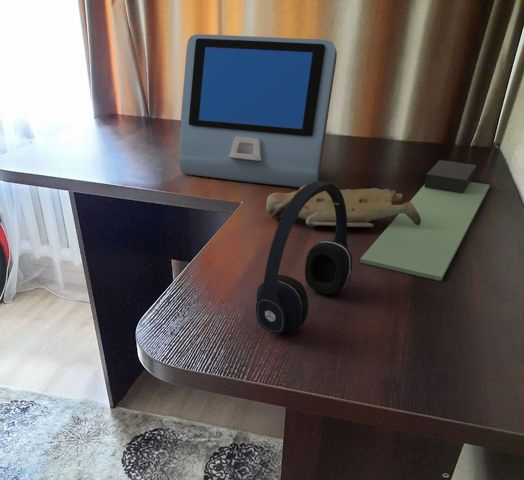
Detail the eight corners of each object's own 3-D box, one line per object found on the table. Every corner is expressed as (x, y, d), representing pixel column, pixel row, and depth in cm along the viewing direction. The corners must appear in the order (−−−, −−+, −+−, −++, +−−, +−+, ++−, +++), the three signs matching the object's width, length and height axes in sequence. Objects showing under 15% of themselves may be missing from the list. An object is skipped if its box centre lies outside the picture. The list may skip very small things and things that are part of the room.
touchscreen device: (176, 177, 125) (167, 34, 109) (207, 159, 141) (203, 32, 124) (314, 193, 117) (327, 41, 100) (330, 172, 133) (344, 38, 116)
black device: (476, 165, 125) (466, 180, 114) (473, 178, 126) (463, 194, 116) (439, 159, 128) (426, 174, 118) (436, 172, 130) (423, 187, 120)
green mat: (489, 188, 123) (490, 184, 122) (441, 281, 83) (442, 277, 82) (431, 178, 128) (431, 175, 127) (359, 262, 88) (360, 258, 88)
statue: (413, 198, 104) (269, 214, 108) (416, 168, 98) (264, 186, 102) (421, 232, 98) (269, 248, 102) (426, 202, 93) (263, 219, 96)
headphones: (316, 277, 83) (326, 163, 73) (355, 288, 80) (371, 171, 70) (247, 332, 70) (246, 202, 59) (289, 348, 67) (297, 214, 56)
